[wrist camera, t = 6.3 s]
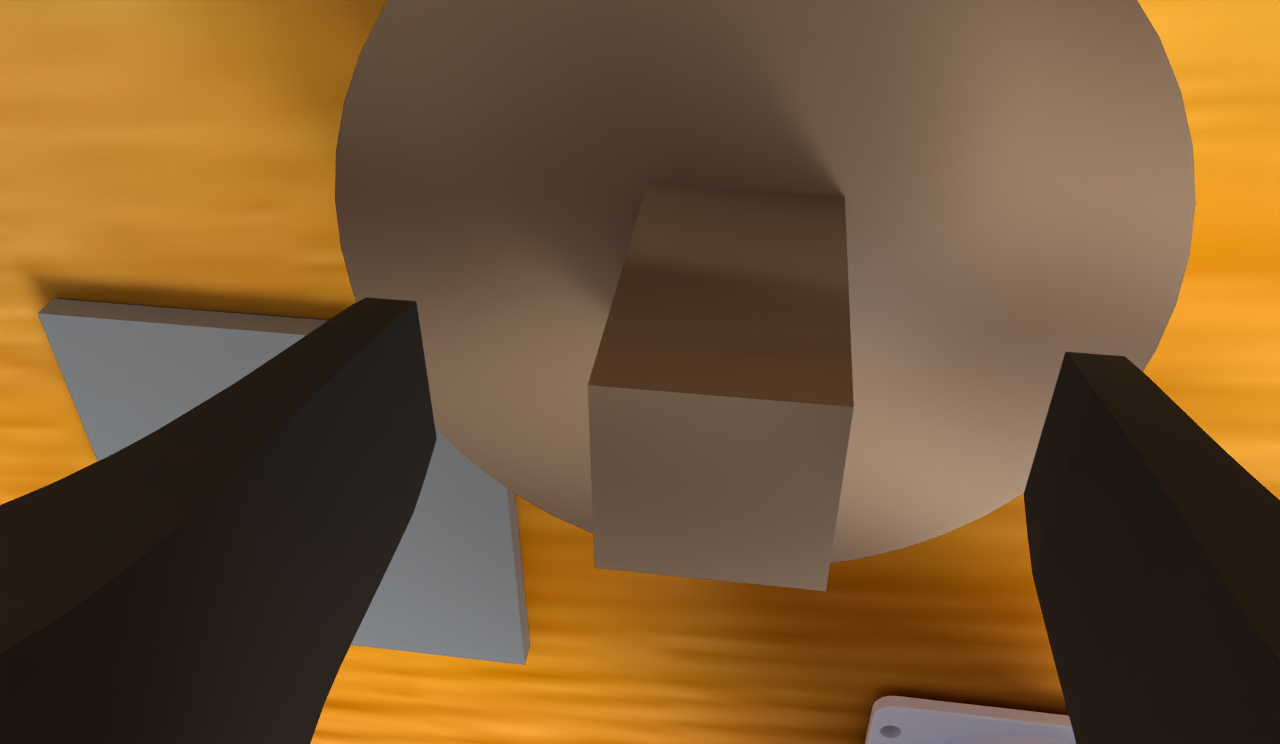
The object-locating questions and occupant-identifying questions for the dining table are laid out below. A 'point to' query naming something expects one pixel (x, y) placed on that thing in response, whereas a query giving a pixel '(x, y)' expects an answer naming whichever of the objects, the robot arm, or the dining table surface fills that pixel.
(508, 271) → the lid
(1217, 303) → the dining table surface
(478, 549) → the coaster
